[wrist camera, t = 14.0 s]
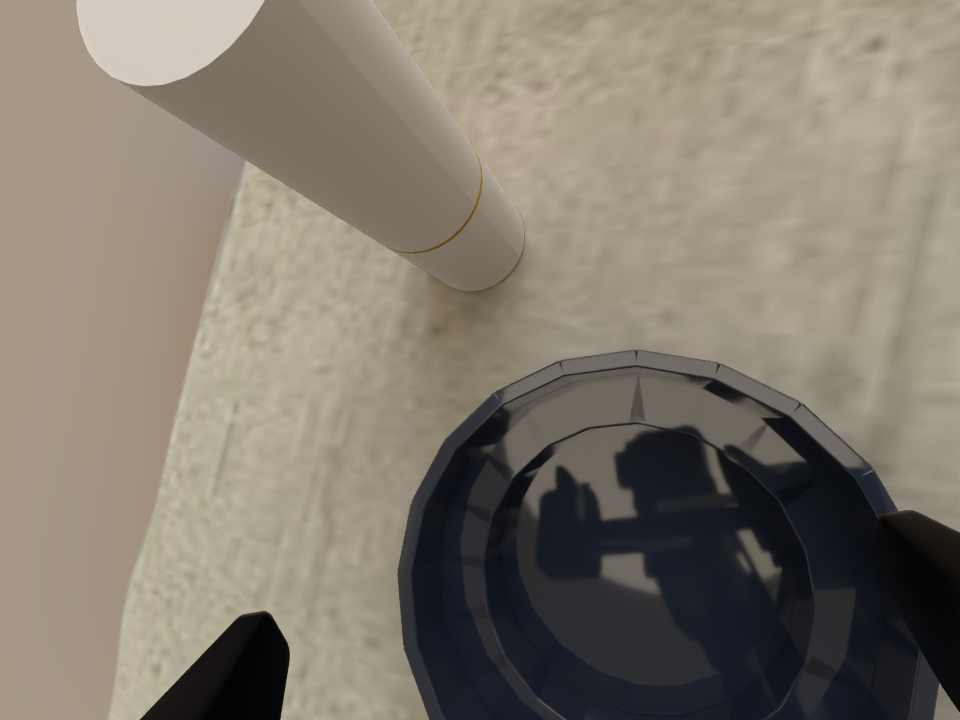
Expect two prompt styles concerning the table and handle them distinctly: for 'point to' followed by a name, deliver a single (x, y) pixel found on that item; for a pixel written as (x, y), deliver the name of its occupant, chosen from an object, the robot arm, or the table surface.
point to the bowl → (652, 557)
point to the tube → (320, 118)
